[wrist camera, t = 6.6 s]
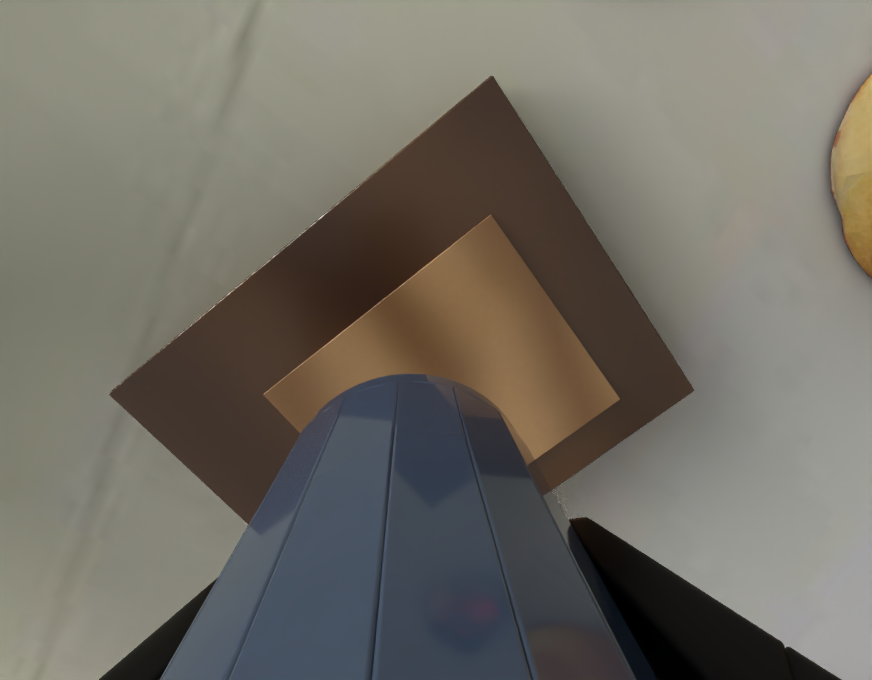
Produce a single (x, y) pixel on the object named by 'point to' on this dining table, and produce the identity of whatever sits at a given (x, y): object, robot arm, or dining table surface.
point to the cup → (409, 557)
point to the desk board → (419, 315)
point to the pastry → (855, 175)
